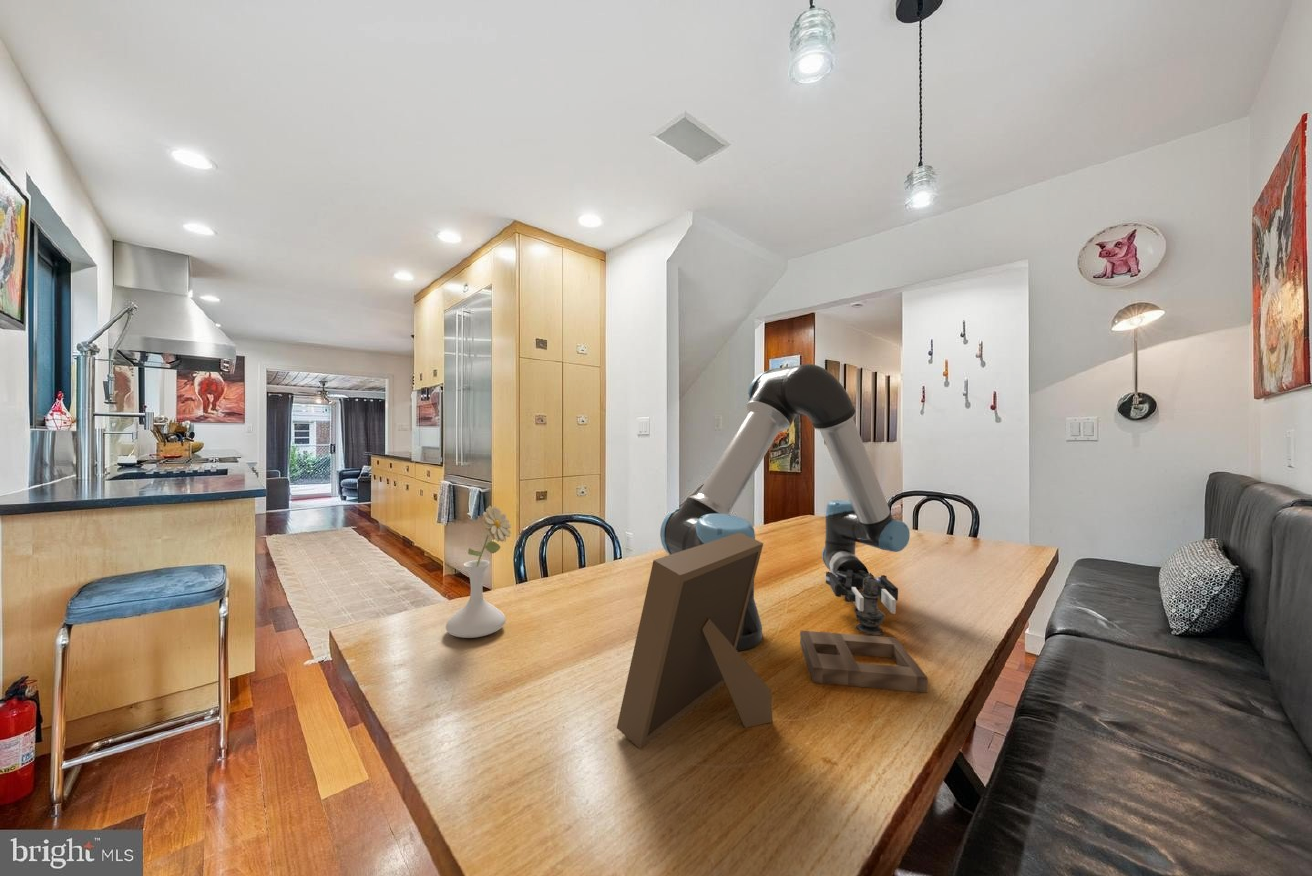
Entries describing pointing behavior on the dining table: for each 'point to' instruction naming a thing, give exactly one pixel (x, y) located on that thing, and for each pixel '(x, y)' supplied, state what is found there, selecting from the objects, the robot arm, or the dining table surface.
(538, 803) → the dining table surface
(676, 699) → the photo frame
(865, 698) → the dining table surface
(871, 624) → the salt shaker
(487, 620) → the flower in vase
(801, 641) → the socket board
